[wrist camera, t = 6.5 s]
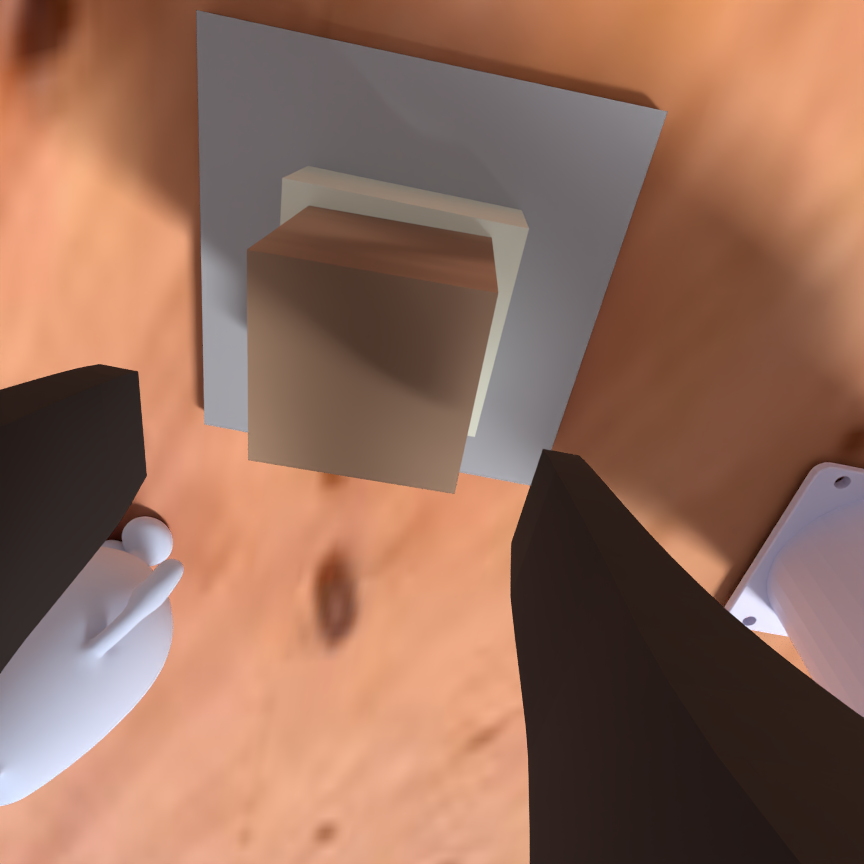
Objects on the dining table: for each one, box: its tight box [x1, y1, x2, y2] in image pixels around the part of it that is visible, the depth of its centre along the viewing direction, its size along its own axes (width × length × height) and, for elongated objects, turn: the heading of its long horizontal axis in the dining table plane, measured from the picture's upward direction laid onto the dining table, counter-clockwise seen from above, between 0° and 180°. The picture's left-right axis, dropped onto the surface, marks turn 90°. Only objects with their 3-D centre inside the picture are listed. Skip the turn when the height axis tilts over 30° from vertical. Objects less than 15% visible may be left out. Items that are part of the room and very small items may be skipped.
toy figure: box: [0, 516, 184, 806], centre depth 19 cm, size 11×6×12 cm, turn 127°
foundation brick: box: [280, 166, 529, 437], centre depth 17 cm, size 6×6×2 cm
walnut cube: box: [247, 206, 498, 494], centre depth 13 cm, size 4×4×4 cm
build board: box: [196, 10, 667, 486], centre depth 18 cm, size 12×12×1 cm
